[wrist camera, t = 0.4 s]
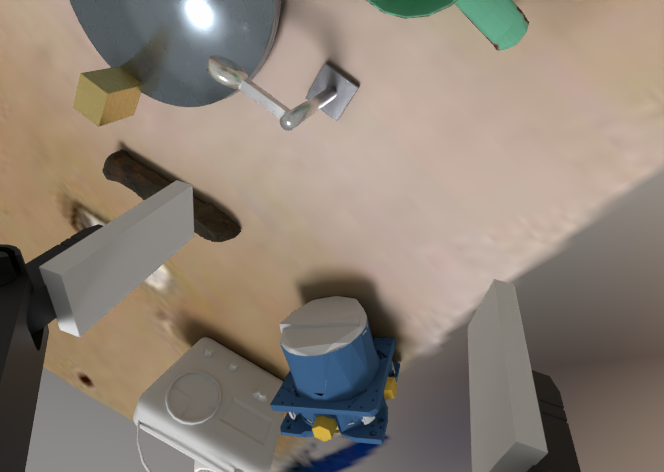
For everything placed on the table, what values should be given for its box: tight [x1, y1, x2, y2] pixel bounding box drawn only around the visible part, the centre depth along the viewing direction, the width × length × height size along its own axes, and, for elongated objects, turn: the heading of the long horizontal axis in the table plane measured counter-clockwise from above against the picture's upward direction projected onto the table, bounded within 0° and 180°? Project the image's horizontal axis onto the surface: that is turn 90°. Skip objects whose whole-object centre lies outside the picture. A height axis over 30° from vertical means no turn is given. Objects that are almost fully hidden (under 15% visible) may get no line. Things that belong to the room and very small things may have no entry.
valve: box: [270, 296, 400, 444], centre depth 50 cm, size 13×15×15 cm
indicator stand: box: [206, 55, 360, 131], centre depth 33 cm, size 10×4×14 cm, turn 58°
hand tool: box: [103, 150, 241, 242], centre depth 50 cm, size 19×4×5 cm, turn 60°
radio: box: [133, 337, 285, 472], centre depth 57 cm, size 22×8×25 cm, turn 62°
